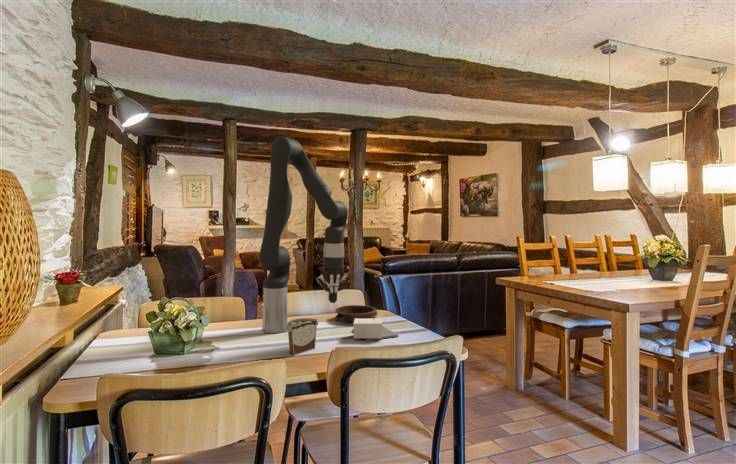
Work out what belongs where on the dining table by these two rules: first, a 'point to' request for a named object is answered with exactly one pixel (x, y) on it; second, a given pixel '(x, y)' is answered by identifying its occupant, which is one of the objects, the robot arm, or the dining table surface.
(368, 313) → the dish
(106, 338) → the dining table surface
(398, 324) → the dining table surface
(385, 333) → the slate board
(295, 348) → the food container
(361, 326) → the small box
